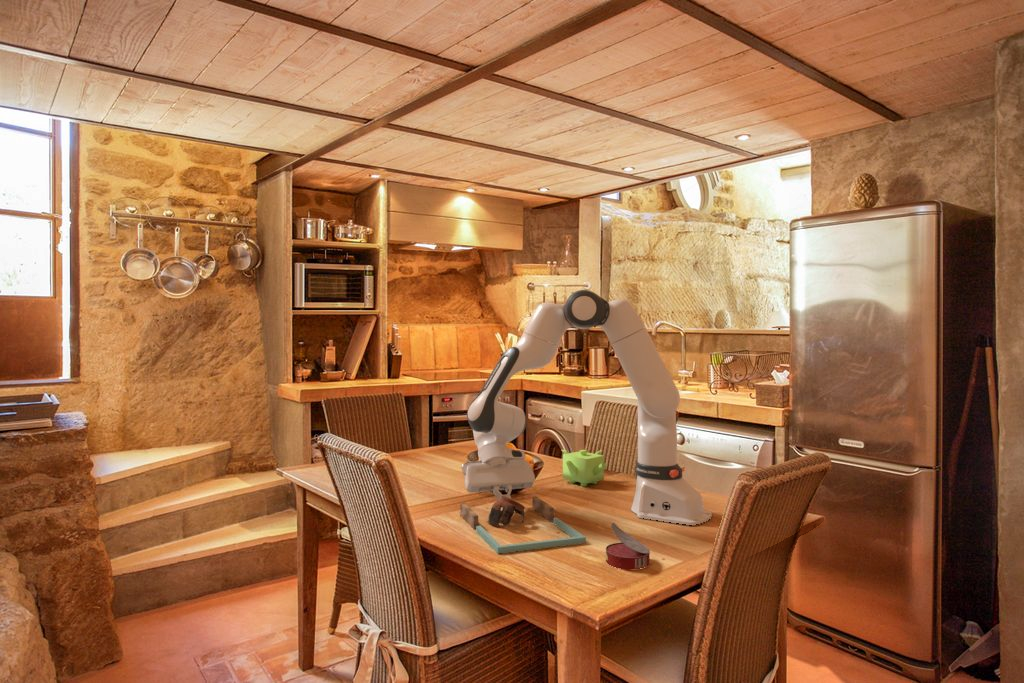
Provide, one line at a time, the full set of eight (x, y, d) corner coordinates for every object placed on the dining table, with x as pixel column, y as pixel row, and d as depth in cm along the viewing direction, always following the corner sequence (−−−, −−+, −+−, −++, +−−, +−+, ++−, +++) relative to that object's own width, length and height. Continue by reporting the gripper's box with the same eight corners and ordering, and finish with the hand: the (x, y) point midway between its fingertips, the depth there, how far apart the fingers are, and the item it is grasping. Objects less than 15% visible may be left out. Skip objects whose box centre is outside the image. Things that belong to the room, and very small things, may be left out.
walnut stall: (460, 515, 184) (460, 503, 184) (536, 508, 192) (536, 496, 192) (473, 529, 172) (474, 516, 172) (554, 521, 180) (554, 508, 180)
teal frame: (476, 531, 170) (476, 526, 170) (557, 523, 178) (557, 517, 178) (497, 553, 154) (497, 547, 154) (585, 543, 162) (586, 537, 162)
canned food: (619, 574, 155) (629, 532, 159) (654, 582, 147) (664, 538, 151) (589, 561, 149) (600, 517, 152) (624, 569, 141) (634, 523, 145)
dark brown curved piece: (483, 520, 182) (497, 493, 184) (514, 536, 182) (527, 508, 184) (487, 522, 170) (501, 492, 172) (520, 538, 170) (533, 509, 172)
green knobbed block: (560, 477, 231) (561, 445, 231) (601, 478, 231) (601, 446, 231) (563, 488, 216) (563, 454, 216) (606, 488, 216) (607, 454, 216)
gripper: (462, 456, 186) (472, 499, 177) (529, 451, 193) (542, 493, 185) (458, 468, 191) (467, 510, 182) (524, 463, 198) (536, 504, 189)
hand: (505, 501), depth 183 cm, fingers closed
